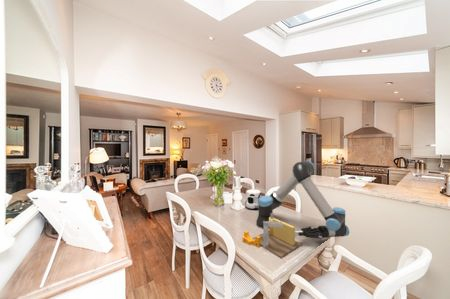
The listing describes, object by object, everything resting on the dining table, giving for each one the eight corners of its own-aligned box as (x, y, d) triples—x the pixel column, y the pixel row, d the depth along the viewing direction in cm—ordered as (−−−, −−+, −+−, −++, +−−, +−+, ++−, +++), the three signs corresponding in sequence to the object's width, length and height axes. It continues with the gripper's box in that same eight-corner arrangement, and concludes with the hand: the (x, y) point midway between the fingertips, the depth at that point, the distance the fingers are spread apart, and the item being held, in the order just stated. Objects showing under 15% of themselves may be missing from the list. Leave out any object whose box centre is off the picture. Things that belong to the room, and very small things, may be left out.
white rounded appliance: (251, 203, 200) (250, 188, 200) (264, 207, 189) (264, 190, 188) (242, 208, 187) (242, 191, 187) (256, 212, 176) (256, 194, 175)
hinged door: (267, 233, 131) (267, 213, 131) (271, 231, 134) (271, 212, 133) (291, 246, 115) (291, 223, 114) (295, 243, 118) (295, 221, 117)
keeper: (263, 248, 116) (263, 222, 115) (263, 245, 119) (263, 220, 118) (282, 249, 114) (282, 224, 113) (281, 247, 117) (281, 222, 116)
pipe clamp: (242, 241, 124) (242, 232, 124) (246, 239, 127) (246, 230, 127) (257, 248, 116) (257, 239, 115) (260, 245, 119) (260, 236, 119)
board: (271, 230, 139) (271, 229, 139) (301, 245, 118) (301, 243, 118) (251, 240, 126) (251, 238, 126) (281, 258, 105) (281, 256, 105)
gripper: (332, 241, 116) (298, 244, 113) (319, 231, 129) (288, 234, 126) (332, 230, 116) (298, 233, 113) (319, 221, 129) (289, 223, 126)
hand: (293, 233), depth 120 cm, fingers closed
